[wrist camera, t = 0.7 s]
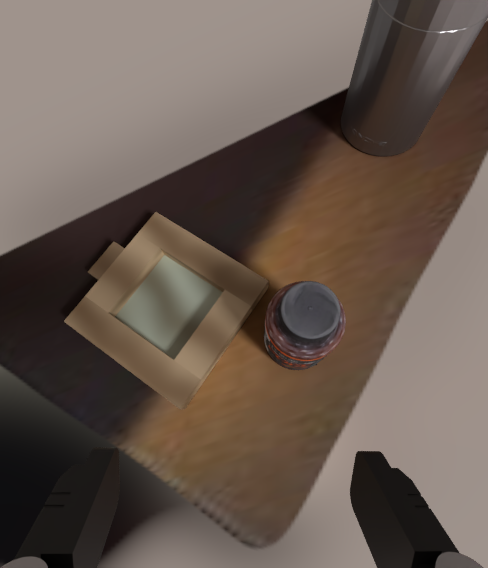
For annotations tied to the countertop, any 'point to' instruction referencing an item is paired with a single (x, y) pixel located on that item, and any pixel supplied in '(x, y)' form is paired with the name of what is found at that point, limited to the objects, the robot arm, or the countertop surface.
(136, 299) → the holder
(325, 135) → the countertop surface
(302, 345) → the supplement bottle
